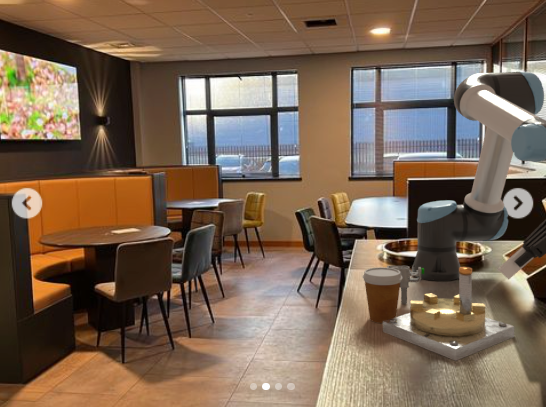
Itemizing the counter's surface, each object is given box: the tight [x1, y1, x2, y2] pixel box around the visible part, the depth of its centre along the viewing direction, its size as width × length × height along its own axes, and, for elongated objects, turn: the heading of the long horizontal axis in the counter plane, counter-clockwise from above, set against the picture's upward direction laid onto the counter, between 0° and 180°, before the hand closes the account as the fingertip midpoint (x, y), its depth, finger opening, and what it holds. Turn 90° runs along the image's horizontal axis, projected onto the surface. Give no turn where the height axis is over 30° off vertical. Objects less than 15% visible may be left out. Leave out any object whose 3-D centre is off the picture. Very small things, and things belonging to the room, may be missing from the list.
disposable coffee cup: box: [362, 266, 402, 324], centre depth 128 cm, size 10×10×12 cm
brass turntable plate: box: [409, 266, 486, 336], centre depth 117 cm, size 16×16×14 cm
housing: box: [382, 312, 515, 362], centre depth 118 cm, size 20×20×3 cm
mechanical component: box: [384, 265, 424, 305], centre depth 140 cm, size 3×10×10 cm, turn 79°
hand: (503, 273), depth 108 cm, fingers closed
